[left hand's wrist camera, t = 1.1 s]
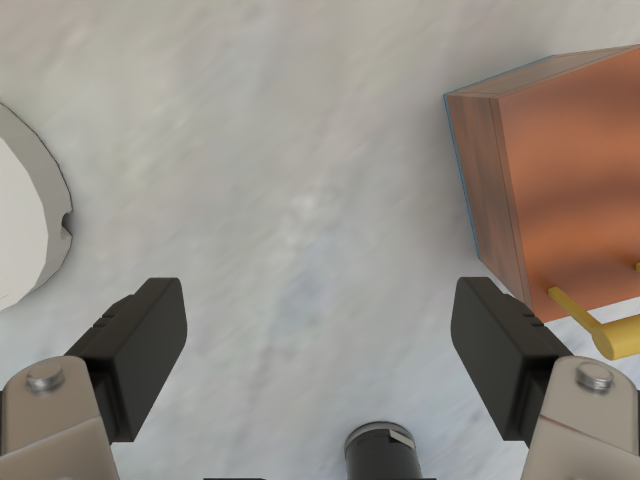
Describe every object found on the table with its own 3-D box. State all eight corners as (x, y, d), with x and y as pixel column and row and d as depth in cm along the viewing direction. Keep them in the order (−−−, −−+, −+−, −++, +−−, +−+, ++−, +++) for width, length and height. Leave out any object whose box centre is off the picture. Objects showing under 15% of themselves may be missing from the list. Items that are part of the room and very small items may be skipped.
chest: (571, 230, 40) (649, 274, 31) (478, 258, 41) (526, 309, 32) (552, 55, 34) (641, 43, 25) (443, 94, 35) (488, 97, 26)
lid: (650, 281, 31) (766, 350, 23) (527, 316, 32) (597, 393, 24) (642, 43, 25) (799, 22, 16) (489, 97, 26) (567, 103, 18)
